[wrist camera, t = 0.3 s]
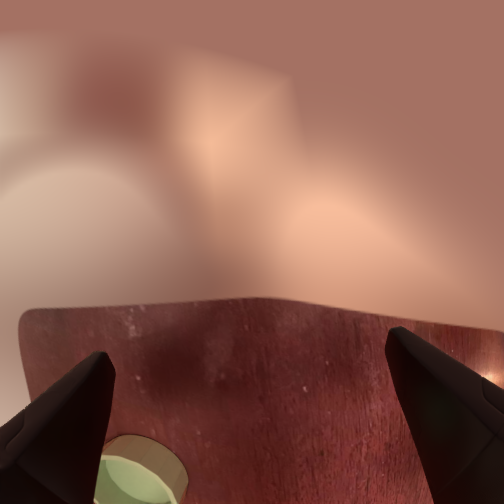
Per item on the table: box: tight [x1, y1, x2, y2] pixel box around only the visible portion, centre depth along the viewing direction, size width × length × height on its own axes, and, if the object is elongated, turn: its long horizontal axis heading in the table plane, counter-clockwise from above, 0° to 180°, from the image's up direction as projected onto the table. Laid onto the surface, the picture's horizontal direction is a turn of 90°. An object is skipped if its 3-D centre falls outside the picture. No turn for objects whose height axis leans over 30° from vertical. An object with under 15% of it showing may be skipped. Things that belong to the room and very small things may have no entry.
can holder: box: [94, 435, 188, 504], centre depth 20 cm, size 9×9×4 cm
